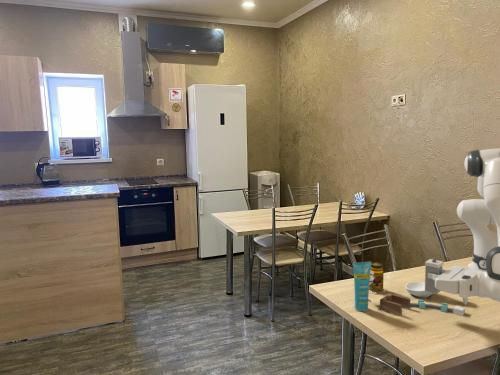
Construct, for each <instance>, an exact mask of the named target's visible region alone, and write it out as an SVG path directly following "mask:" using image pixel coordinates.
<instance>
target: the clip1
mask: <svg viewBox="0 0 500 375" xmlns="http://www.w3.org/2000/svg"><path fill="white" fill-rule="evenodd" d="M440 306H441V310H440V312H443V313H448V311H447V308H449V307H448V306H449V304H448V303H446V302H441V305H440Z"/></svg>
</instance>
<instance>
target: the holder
mask: <svg viewBox="0 0 500 375" xmlns="http://www.w3.org/2000/svg"><path fill="white" fill-rule="evenodd" d="M410 303H411V298H409V297H405V296H402V295H399V294H395V293H391V292H390V293H388V294H387V295H385V296H383V297H382V298H380V299H379V310H380V311H385V312H386V313H391V314H393V315H397V316H402V314H403V313H402V312H403V311H402V309H406V310H410V309H411V307H410Z"/></svg>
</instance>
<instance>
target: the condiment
mask: <svg viewBox="0 0 500 375" xmlns="http://www.w3.org/2000/svg"><path fill="white" fill-rule="evenodd" d="M383 269H384V268H383V264H382V263H380V262H371V270H370V271H371V272H373V273H374V274H373V276H374V281H373V282H372V283H371V284H370V285H369V290H370V291H372V292H371V293H373V294H374V295H377V294H382V293H385V292H388V290H387V289H385V288H384V280H385V279H384V270H383ZM370 291H369V292H370ZM375 292H376V293H375Z"/></svg>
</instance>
